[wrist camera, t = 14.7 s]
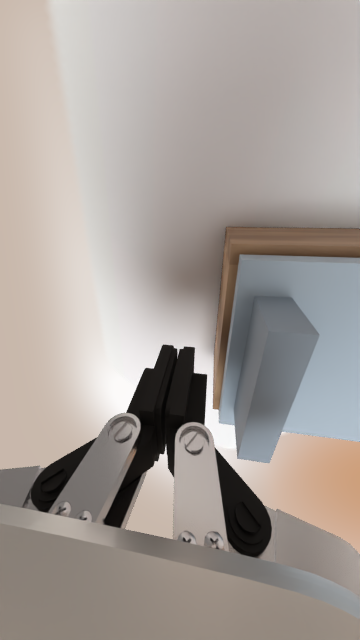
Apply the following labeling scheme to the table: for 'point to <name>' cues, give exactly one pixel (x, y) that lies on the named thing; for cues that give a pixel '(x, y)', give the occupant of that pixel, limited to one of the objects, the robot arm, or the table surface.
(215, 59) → the table surface
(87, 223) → the table surface
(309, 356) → the lid
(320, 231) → the toolbox
